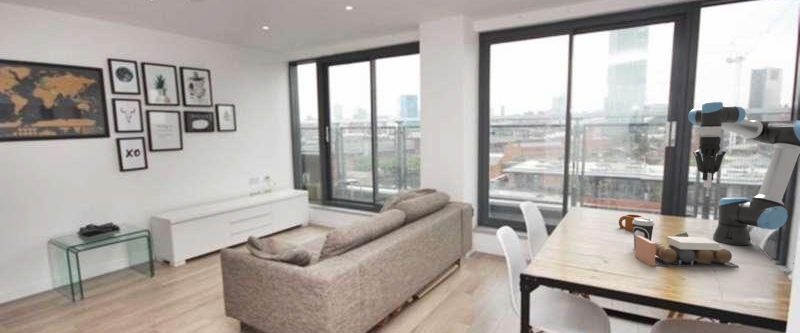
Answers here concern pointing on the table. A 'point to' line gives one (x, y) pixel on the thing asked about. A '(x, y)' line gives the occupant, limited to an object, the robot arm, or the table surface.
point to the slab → (692, 243)
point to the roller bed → (692, 263)
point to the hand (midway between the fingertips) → (707, 187)
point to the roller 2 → (684, 254)
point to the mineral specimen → (682, 235)
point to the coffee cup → (643, 228)
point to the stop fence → (645, 250)
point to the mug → (628, 221)
